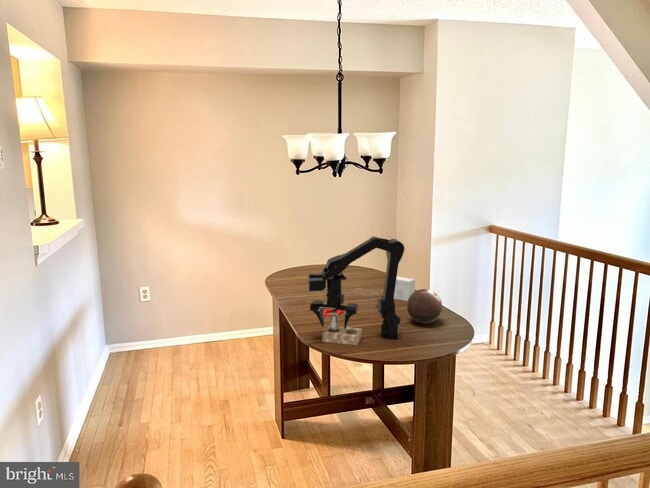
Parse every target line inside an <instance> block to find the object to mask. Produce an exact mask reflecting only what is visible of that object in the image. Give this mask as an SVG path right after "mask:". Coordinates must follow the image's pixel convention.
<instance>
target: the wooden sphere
mask: <svg viewBox="0 0 650 488" xmlns="http://www.w3.org/2000/svg"><path fill="white" fill-rule="evenodd" d="M406 302H407V303H406V308H407V313H408V315H409V316H410V317H411V319H413V321H414V322H417V323H419V324H426V325H427V324H431V323H433V322H435V321H436V320H438V319H439V317H440V316H441V313H442V311H443V303H442V300H441V297H440V296H439V295H438V294H437V293H436V292H435V291H433V290H431V289H427V288H421V289H417V290H415V292H414V293H413V294H412V295H411V296H410V297H409V299H408V301H406Z"/></svg>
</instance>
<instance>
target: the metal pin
mask: <svg viewBox="0 0 650 488" xmlns="http://www.w3.org/2000/svg"><path fill="white" fill-rule="evenodd" d="M336 313H337V312H336ZM336 313H333V312H332V313H329V314H330V317H329V318H330V323H329V325H330V332H337V333H338V326H339V315H338V314H336Z"/></svg>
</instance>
